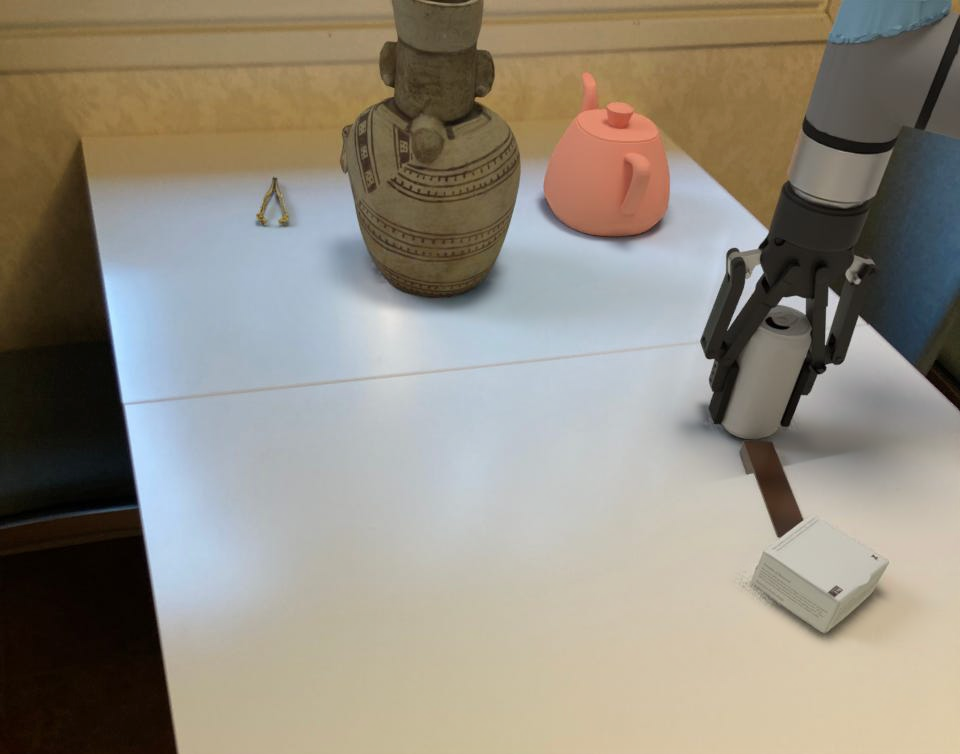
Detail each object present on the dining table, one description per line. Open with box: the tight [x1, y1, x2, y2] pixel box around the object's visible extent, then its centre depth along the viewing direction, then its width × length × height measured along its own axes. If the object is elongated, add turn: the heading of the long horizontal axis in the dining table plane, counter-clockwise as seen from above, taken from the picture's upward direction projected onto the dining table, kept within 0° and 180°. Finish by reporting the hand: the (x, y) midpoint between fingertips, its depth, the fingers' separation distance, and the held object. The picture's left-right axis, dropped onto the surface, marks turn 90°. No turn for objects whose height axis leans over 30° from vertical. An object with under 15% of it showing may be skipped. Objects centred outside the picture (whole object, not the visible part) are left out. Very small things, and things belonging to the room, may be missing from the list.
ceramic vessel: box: [339, 0, 522, 299], centre depth 102 cm, size 19×21×30 cm
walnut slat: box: [739, 439, 804, 539], centre depth 89 cm, size 14×3×2 cm, turn 2°
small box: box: [749, 513, 890, 634], centre depth 79 cm, size 8×8×5 cm
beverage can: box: [720, 304, 812, 440], centre depth 92 cm, size 6×6×12 cm
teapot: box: [542, 71, 671, 237], centre depth 123 cm, size 25×17×13 cm
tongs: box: [255, 176, 290, 227], centre depth 121 cm, size 4×13×2 cm, turn 11°
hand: (748, 417), depth 96 cm, fingers closed on beverage can, 6 cm apart
